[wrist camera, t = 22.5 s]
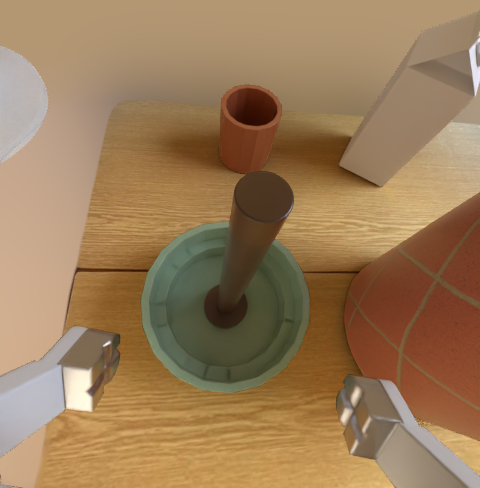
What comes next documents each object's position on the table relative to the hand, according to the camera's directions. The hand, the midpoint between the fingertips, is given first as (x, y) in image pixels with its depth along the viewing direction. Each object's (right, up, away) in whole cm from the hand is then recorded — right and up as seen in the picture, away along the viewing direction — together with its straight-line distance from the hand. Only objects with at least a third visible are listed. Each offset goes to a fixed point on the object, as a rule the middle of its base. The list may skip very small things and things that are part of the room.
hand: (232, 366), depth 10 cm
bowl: (-1, -3, +21) cm, 21 cm away
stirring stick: (-1, -3, +20) cm, 20 cm away
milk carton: (+19, +17, +31) cm, 41 cm away
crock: (+1, +17, +29) cm, 34 cm away
